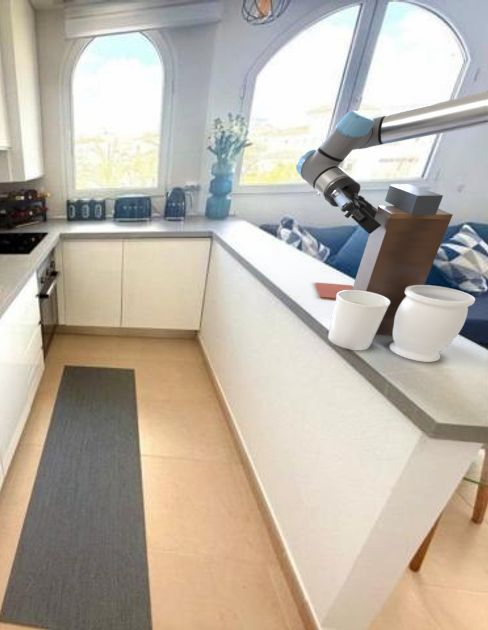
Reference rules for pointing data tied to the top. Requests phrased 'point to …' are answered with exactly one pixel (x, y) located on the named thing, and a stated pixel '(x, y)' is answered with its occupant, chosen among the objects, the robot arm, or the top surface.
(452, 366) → the top surface
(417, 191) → the slim box
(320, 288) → the mat
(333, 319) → the white flower pot
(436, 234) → the stand
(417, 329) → the jar
